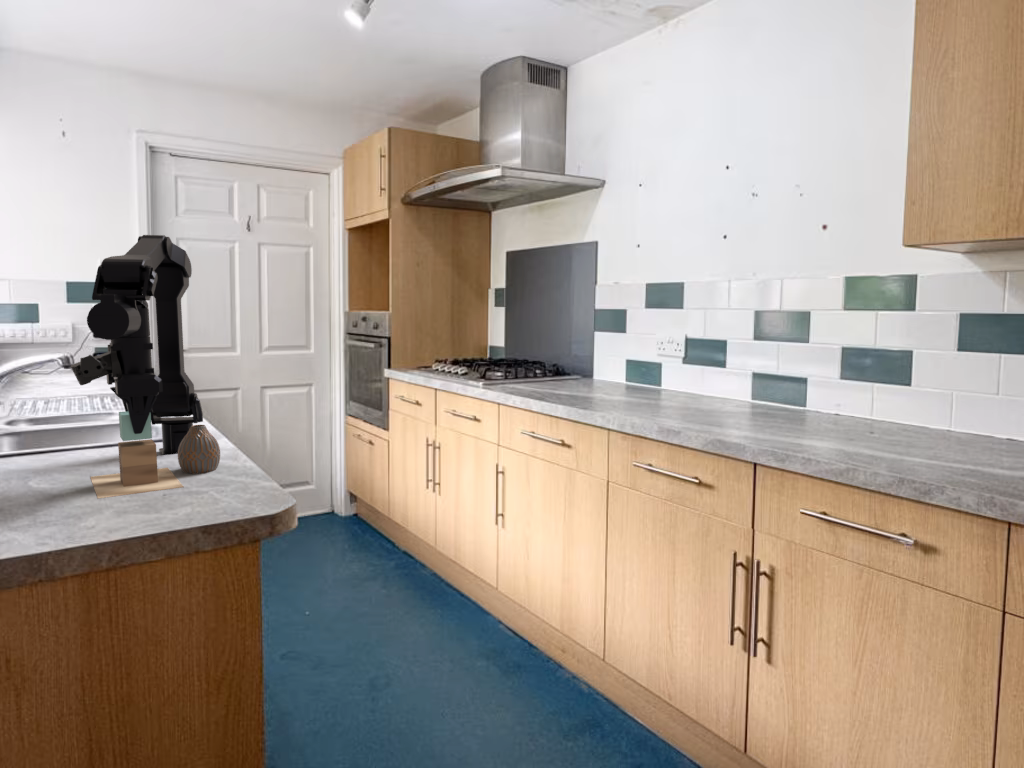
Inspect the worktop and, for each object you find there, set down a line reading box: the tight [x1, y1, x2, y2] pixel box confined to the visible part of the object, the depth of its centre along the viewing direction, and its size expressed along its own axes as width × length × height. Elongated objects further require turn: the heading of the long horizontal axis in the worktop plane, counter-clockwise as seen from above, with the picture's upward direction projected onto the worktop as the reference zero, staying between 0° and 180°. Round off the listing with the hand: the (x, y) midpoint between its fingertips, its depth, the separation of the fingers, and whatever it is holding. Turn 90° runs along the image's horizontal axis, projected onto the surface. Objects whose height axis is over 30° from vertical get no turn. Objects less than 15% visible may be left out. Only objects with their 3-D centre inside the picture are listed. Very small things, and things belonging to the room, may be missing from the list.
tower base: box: [118, 461, 158, 487], centre depth 117 cm, size 5×5×3 cm
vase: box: [177, 424, 221, 475], centre depth 125 cm, size 7×7×9 cm
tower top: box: [117, 438, 158, 467], centre depth 116 cm, size 5×5×3 cm
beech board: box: [90, 467, 185, 500], centre depth 117 cm, size 16×12×1 cm
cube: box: [118, 410, 153, 442], centre depth 116 cm, size 4×4×4 cm
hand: (136, 431), depth 116 cm, fingers closed on cube, 4 cm apart
